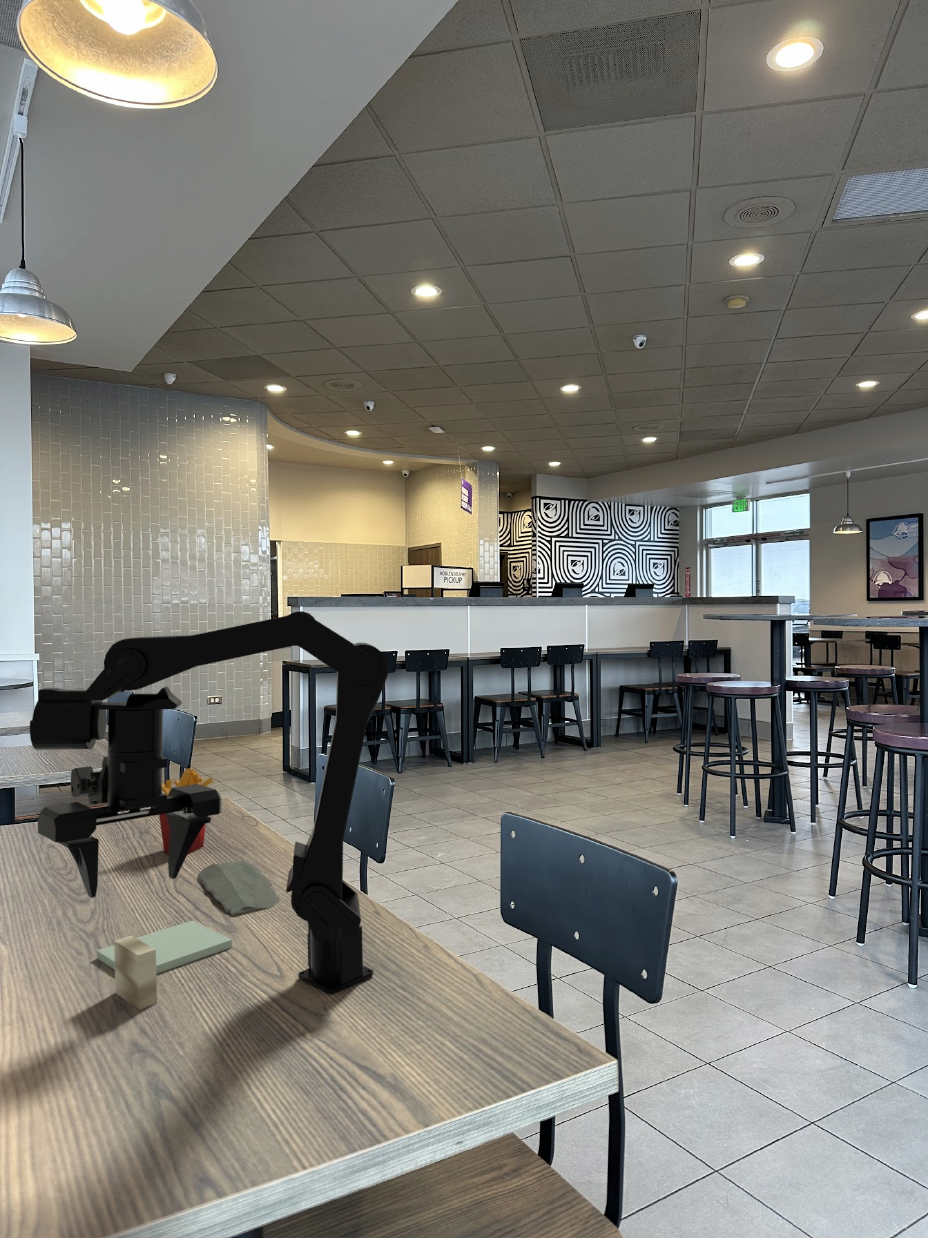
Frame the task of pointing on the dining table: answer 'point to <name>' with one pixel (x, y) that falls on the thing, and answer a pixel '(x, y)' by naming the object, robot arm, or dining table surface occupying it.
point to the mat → (177, 945)
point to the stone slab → (238, 887)
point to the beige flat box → (135, 972)
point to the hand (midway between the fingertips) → (133, 887)
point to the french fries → (186, 779)
